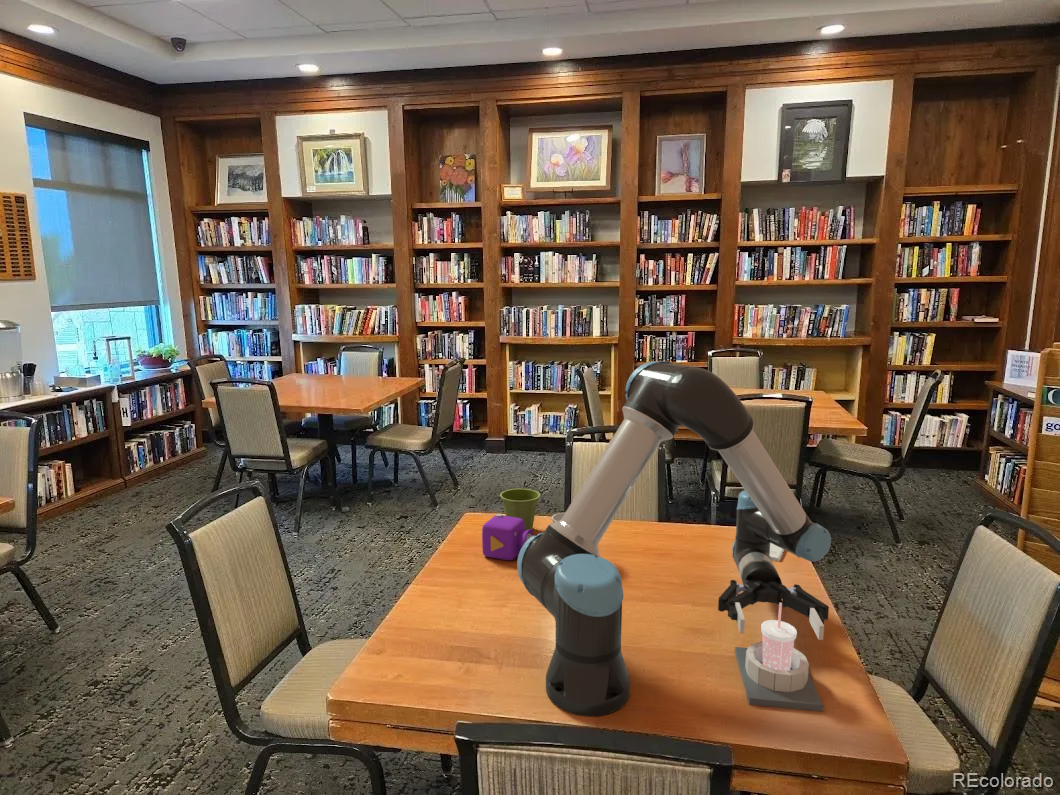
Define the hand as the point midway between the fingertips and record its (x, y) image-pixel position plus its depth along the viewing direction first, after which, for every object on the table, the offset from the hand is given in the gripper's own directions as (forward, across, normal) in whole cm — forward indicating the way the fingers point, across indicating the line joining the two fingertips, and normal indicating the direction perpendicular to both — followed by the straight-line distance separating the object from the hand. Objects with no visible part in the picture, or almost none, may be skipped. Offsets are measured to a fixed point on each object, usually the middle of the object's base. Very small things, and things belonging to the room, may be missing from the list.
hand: (781, 629), depth 115 cm
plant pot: (-64, +60, -10) cm, 88 cm away
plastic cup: (-46, +43, -10) cm, 64 cm away
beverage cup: (0, 0, -9) cm, 9 cm away
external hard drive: (-60, -10, -11) cm, 62 cm away
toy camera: (-47, +60, -10) cm, 77 cm away
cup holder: (0, 0, -10) cm, 10 cm away
